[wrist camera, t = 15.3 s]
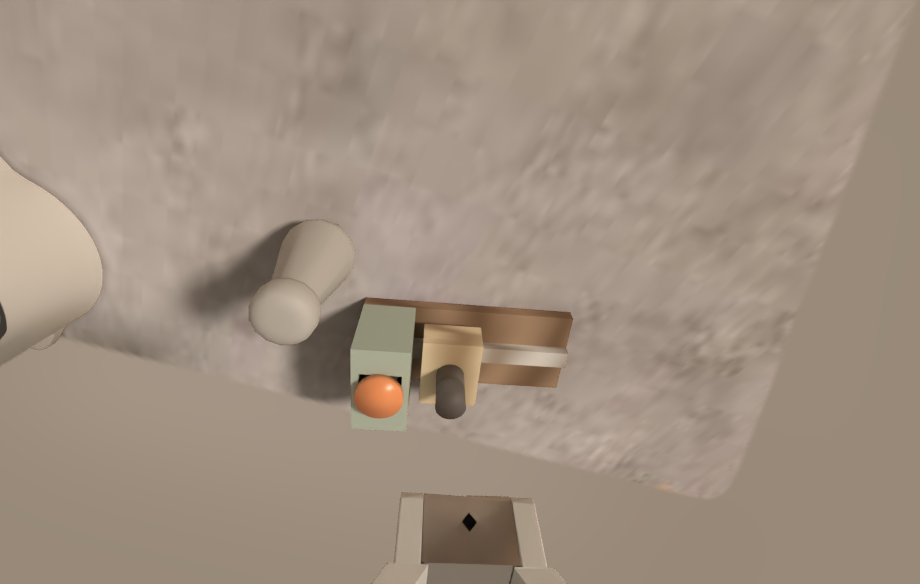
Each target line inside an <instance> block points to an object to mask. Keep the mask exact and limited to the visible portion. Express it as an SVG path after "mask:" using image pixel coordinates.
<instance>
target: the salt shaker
mask: <svg viewBox="0 0 920 584" xmlns="http://www.w3.org/2000/svg"><path fill="white" fill-rule="evenodd" d="M354 256H355V250H354V247H353V245H352V242H351V240H350V237H349V236H348V235H347V234H346V233H345V232H344V231H343V230H342V229H341V228H340V227H339V225H338V224H332V223H330V222H327V221H325V220H306V221H304V222H302V223H300V224H298V225H296V226H295V227H293V228H291V229H290V231H289V232H288V234H287V235H286V237H285V238H284V240H283V241H282V245H281V248H280V252H279V255H278V259H277V262H276V266H275V269H274V273H273V276H272V280H271V281H270V282H268V283H266V284H264V285H262V286H261V287H260V288H259V289H258V290H257V292H256V293H255V295H254V296H253V298H252V299H251V301H250V304H249V321H250V323H251V325H252V326H253V328H254V330H255V332H257V333H258V334H259V335H260V336H262V337H263V338H264V339H266V340H267V341H270V342H273V343H276V344H279V345H295V344H297V343H300V342H302V341H304V340H306V339H307V338H308V337H309V336H310V335H311V334H312V332H313V331H314V329H315V328H316V327H317V325H318V323H319V320H320V312H321V304H322V303H323V302H324V301H325V300H326V299H327V298H328V297H329V296H330V295H331V294H332V293H333V292H334V291H335V290H336V289H337V287H338V286H339V285H340V284H341V283H342V282H343V281H344V280H345V279H346V277H347V276H348V275H349V273H350V272H351V270H352V269H353V265H354Z"/></svg>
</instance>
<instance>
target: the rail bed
mask: <svg viewBox="0 0 920 584" xmlns="http://www.w3.org/2000/svg"><path fill="white" fill-rule="evenodd" d="M364 304H371V305H384V306H398V307H412V308H416V313H415V328H414V341H413V355H412V373H411V379H420V377H421V364H422V351H423V338H424V325H425V324H436V325H450V326H465V327H479V328H481V332H482V340H483V353H482V360H481V367H480V373H479V380H478V383H486V384H502V385H519V386H535V387H552V388H556V387H557V382H558V378H559V374H560V370H561V368H565V366H566V362H567V358H568V352H567V349H566V346H567V342H568V338H569V334H570V330H571V326H572V322H573V318H572V316H571V313H570V312H557V311H543V310H529V309H516V308H502V307H488V306H475V305H461V304H447V303H434V302H420V301H406V300H393V299H379V298H366V299H365V302H364Z"/></svg>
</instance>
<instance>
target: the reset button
mask: <svg viewBox="0 0 920 584" xmlns="http://www.w3.org/2000/svg"><path fill="white" fill-rule="evenodd" d="M354 403H355V406H356V407H357V409H358V410H359V411H360V412H361V413H363V414H364V415H366V416H368V417H372V418H379V419H381V418H387V417H390V416H393V415H394V414H396V413H397V412H398V411H399V410H400V408H401V406H402V403H403V389H402V387H401V385H400V384H399V377H397V376H387V375H381V374H375V375H365V374H364V378H363V379H362V380H361V381H360V382H359V383H358V385H357V387H356V390H355V394H354Z"/></svg>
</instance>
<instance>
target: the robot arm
mask: <svg viewBox="0 0 920 584" xmlns="http://www.w3.org/2000/svg"><path fill="white" fill-rule="evenodd" d="M102 281H103V272H102V265H101V260H100V257H99V254H98V251H97V249H96V246H95V244H94V242H93V240H92V239H91V237H90V235H89V234H88V232H87V230H86V229H85V228H84V226H83V225H82V224H81V222H80V221H79V220H78V219H77V218H76V216H75V215H74V214H73V213H72V212H71V211H70V210H69V209H68V208H67V207H66V206H65V205H63V204H62V203H61V202H60V201H59V200H58V199H56V198H55V197H54V196H52V195H51V194H50V193H48V192H47V191H45V190H44V189H42V188H41V187H39V186H37V185H36V184H34V183H32V182H31V181H29V180H27V179H26V178H24V177H22V176H21V175H19V174H18V173H17V172H15V171H14V170H12V169H11V167H10V166H9V165H8V164H7V163H6V162H5V161H4V160H3V159H2V158H1V157H0V367H1V366H2V365H4V364H6V363H7V362H9V361H11V360H12V359H14V358H16V357H17V356H19V355H21V354H22V353H24V352H26V351H27V350H29V349H30V348H31V349H37V350H43V349H46V348H47V347H49V346H51V345H52V344H54V343H55V342H56V341H57V340H58V339H59V337H60V335H61V334H62V332H63V330H64V327H65V326H66V325H67V324H69V323H70V322H72V321H73V320H75V319H77V318H79V317H81V316H82V315H84V314H85V313H86V312H87V311H89V310H90V309H91V308H92V306H93V305H94V304H95V302H96V301H97V299H98V297H99V295H100V292H101V288H102ZM371 584H566V582H565V581H564V580H563V579H562V577H561V576H560V575H559V574H558V573H557V571H556V570H555V569H554V568H547V563H546V558H545V554H544V549H543V543H542V538H541V533H540V528H539V523H538V518H537V513H536V508H535V503H534V501H533V500H532V499H531V498H514V497H510V498H509V497H500V496H451V495H439V494H424V495H423V493H405V492H402V493H401V497H400V504H399V514H398V525H397V535H396V546H395V556H394V563H386V565H385V566H384V567H383V569H382V570H381V572H380V573H379V574H378V575H377V577H376V578H375V579H374V581H373V582H372V583H371Z"/></svg>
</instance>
